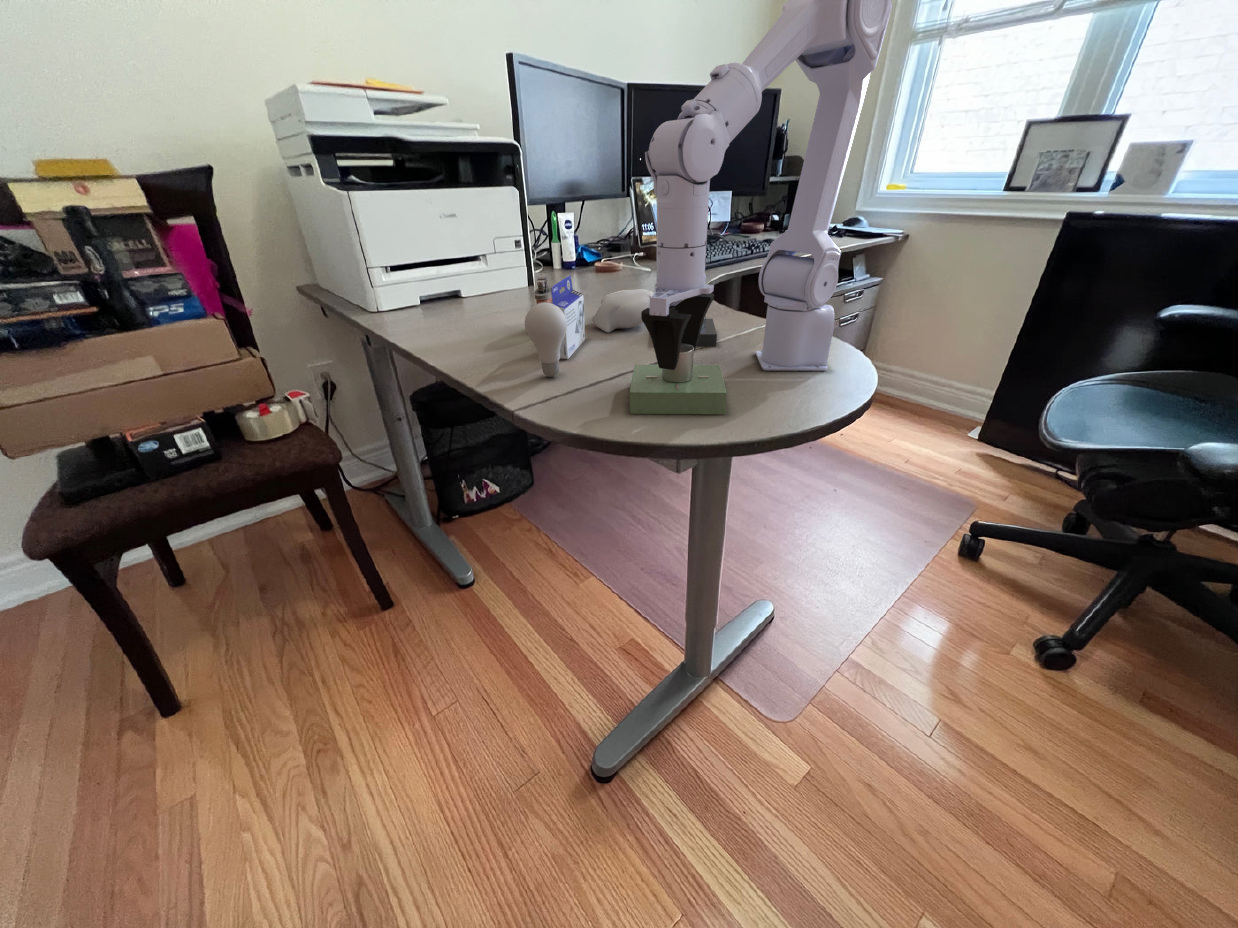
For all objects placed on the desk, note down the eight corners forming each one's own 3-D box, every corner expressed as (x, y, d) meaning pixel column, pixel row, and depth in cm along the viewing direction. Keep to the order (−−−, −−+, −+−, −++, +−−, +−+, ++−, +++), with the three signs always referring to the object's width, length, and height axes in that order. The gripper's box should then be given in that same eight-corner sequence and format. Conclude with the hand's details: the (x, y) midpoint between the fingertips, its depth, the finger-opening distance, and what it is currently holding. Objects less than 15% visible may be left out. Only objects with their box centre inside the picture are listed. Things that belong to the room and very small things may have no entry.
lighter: (553, 335, 94) (548, 280, 88) (536, 336, 94) (529, 281, 88) (558, 324, 100) (554, 272, 95) (542, 324, 100) (536, 273, 95)
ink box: (569, 360, 81) (563, 288, 75) (556, 360, 82) (548, 288, 76) (587, 339, 91) (582, 273, 85) (575, 339, 91) (569, 273, 85)
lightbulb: (578, 372, 76) (573, 299, 71) (558, 386, 72) (550, 310, 66) (545, 367, 79) (537, 296, 73) (523, 380, 74) (513, 306, 68)
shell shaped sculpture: (653, 315, 104) (653, 283, 100) (661, 332, 93) (661, 297, 90) (591, 318, 103) (589, 286, 100) (592, 335, 92) (590, 300, 89)
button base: (712, 330, 93) (713, 308, 91) (716, 346, 85) (717, 323, 83) (659, 330, 94) (659, 309, 92) (658, 347, 86) (658, 324, 84)
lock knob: (668, 370, 67) (669, 339, 65) (696, 374, 66) (698, 342, 64) (657, 380, 64) (657, 348, 62) (686, 384, 63) (687, 352, 60)
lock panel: (718, 384, 70) (720, 363, 69) (724, 414, 62) (726, 391, 60) (634, 384, 71) (634, 363, 70) (630, 413, 63) (629, 391, 61)
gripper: (694, 256, 50) (689, 382, 57) (731, 237, 61) (723, 345, 68) (631, 253, 52) (633, 374, 59) (677, 236, 63) (675, 339, 70)
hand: (677, 358), depth 64 cm, fingers open, 7 cm apart
